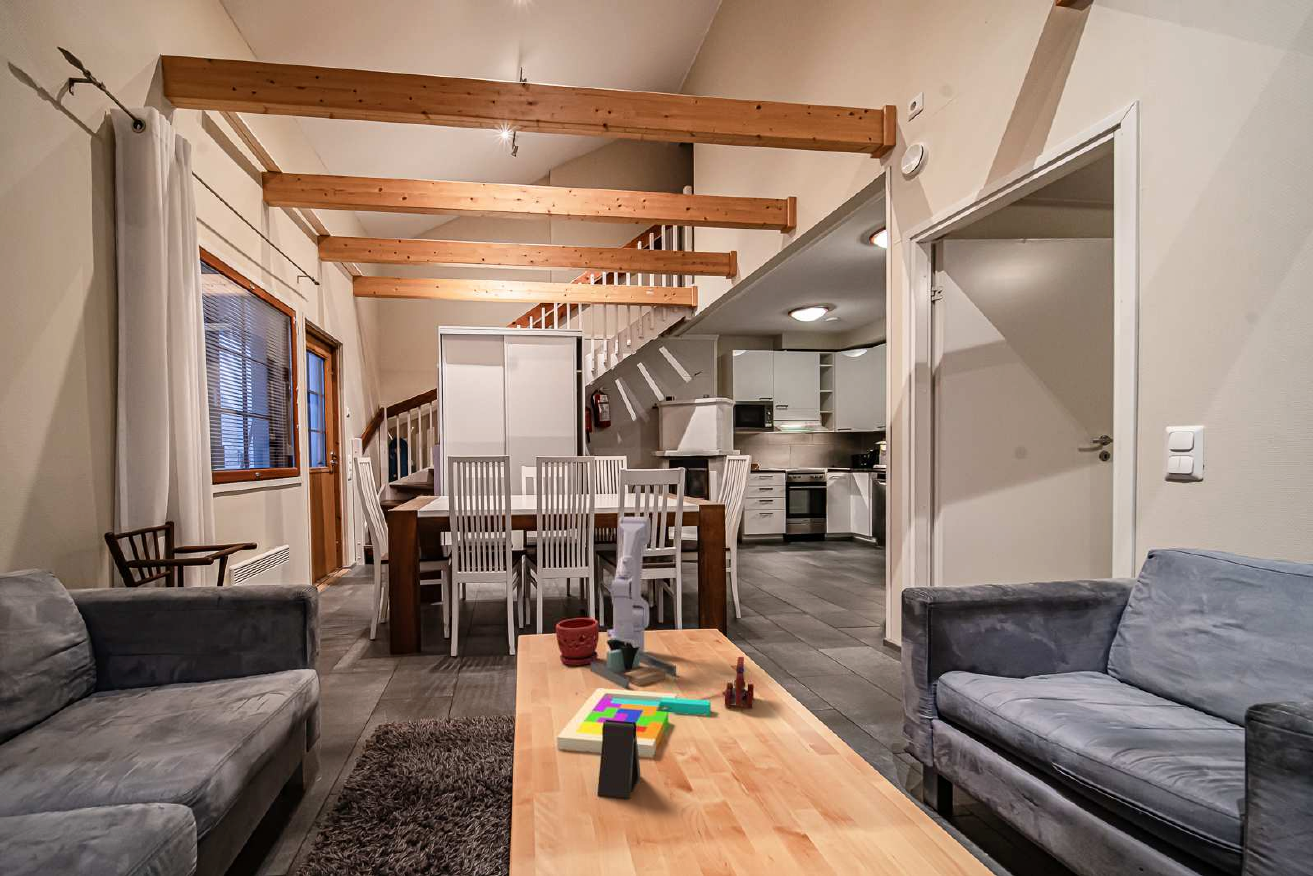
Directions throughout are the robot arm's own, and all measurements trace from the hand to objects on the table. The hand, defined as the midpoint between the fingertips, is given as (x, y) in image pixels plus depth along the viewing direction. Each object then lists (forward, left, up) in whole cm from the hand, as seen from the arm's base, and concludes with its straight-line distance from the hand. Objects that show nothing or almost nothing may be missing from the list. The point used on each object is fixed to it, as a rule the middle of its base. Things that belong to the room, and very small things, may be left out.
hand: (623, 666), depth 185 cm
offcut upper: (+11, 0, -1) cm, 11 cm away
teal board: (0, 0, -2) cm, 2 cm away
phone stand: (+53, -36, -2) cm, 64 cm away
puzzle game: (+33, -17, -3) cm, 37 cm away
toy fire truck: (+37, +11, -2) cm, 39 cm away
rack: (+5, 0, -2) cm, 5 cm away
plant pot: (-18, -5, -2) cm, 19 cm away
